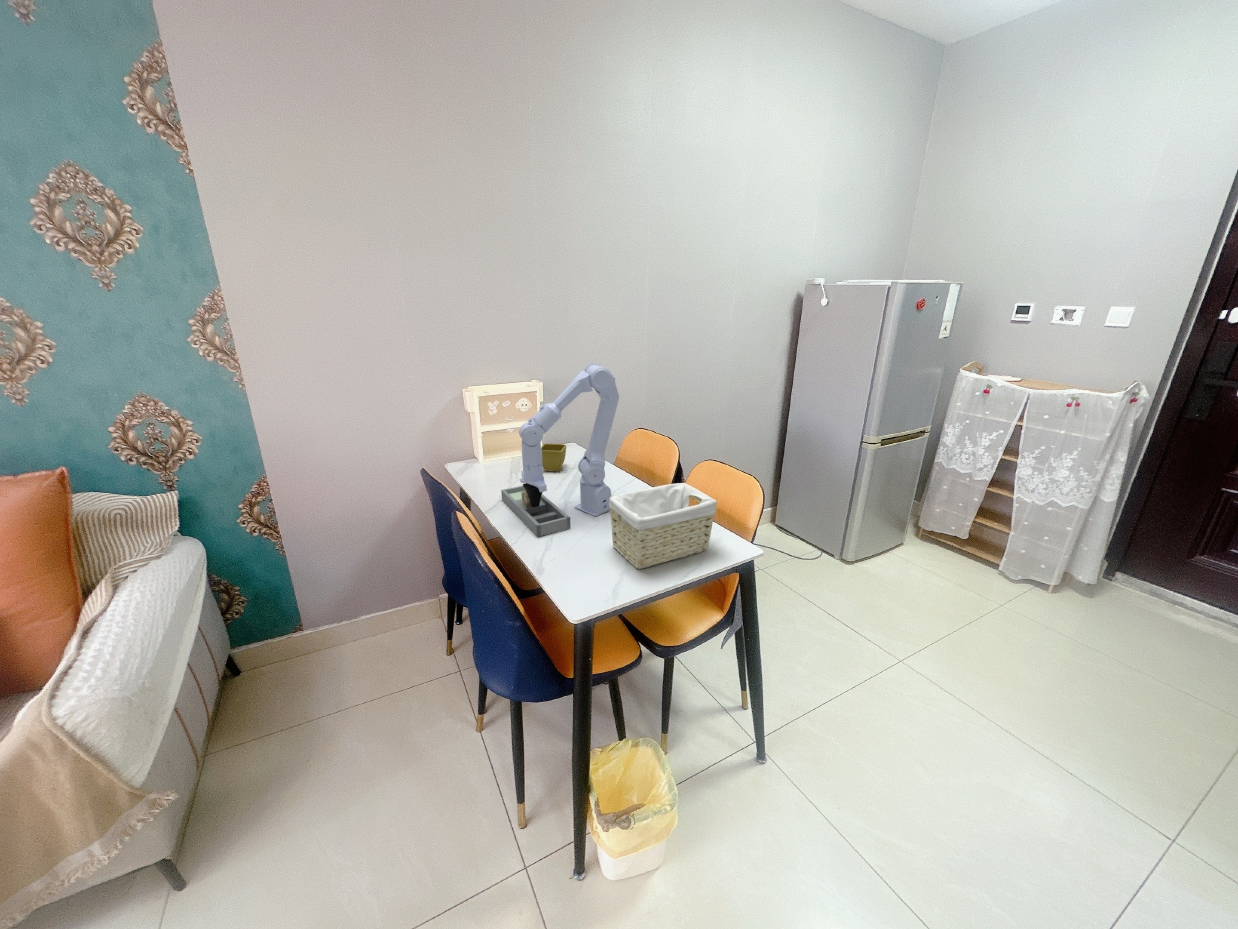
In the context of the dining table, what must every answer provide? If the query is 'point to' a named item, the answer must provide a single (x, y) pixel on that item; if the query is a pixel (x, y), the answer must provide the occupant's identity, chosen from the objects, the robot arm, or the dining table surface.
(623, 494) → the storage basket
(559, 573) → the dining table surface
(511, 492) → the box
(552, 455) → the flower pot
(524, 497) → the maple block
